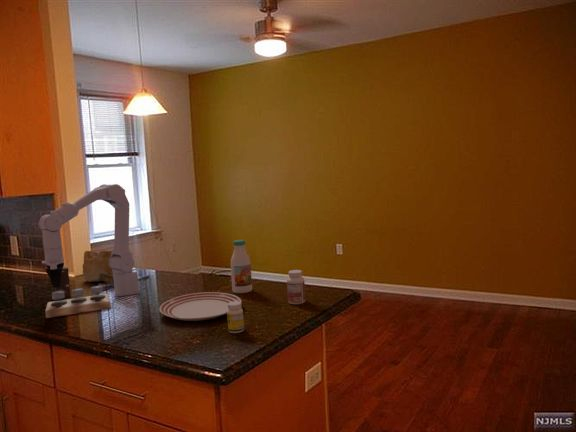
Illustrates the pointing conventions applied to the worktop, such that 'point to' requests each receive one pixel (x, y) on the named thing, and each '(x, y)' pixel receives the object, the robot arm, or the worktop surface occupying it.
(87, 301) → the button board
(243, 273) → the milk bottle
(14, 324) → the worktop surface
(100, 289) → the button
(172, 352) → the worktop surface
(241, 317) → the supplement bottle
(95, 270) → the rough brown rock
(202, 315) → the dinner plate
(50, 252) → the robot arm
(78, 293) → the button middle
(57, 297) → the button
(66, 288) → the box
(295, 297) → the pill bottle
